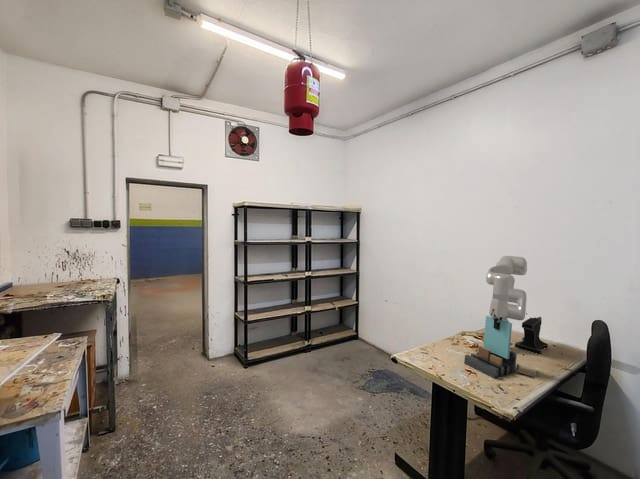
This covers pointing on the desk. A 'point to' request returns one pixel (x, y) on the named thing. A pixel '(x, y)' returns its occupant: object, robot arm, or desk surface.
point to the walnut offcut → (484, 353)
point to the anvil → (531, 336)
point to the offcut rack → (492, 365)
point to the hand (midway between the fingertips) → (497, 328)
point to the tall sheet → (498, 337)
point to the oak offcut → (496, 360)
